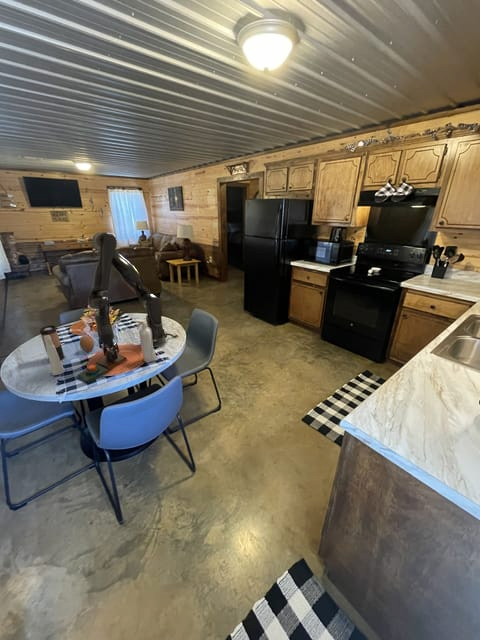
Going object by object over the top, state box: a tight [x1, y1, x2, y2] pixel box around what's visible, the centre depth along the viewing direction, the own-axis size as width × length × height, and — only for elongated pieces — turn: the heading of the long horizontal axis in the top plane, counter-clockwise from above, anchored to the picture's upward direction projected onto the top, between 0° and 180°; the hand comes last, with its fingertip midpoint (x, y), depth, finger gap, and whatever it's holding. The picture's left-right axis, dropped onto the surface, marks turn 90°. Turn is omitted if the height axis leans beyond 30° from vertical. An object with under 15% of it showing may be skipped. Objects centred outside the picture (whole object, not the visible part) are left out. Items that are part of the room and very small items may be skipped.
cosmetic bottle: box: [44, 335, 66, 376], centre depth 137 cm, size 6×6×22 cm
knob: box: [105, 349, 114, 362], centre depth 148 cm, size 5×5×5 cm
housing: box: [77, 364, 109, 384], centre depth 138 cm, size 11×9×4 cm
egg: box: [79, 334, 95, 353], centre depth 161 cm, size 8×8×11 cm
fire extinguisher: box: [134, 318, 159, 363], centre depth 148 cm, size 7×12×25 cm, turn 61°
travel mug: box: [39, 325, 65, 361], centre depth 150 cm, size 8×8×20 cm
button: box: [87, 364, 96, 371], centre depth 137 cm, size 4×4×2 cm
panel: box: [96, 353, 128, 372], centre depth 149 cm, size 12×10×3 cm
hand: (111, 357), depth 148 cm, fingers open, 8 cm apart
